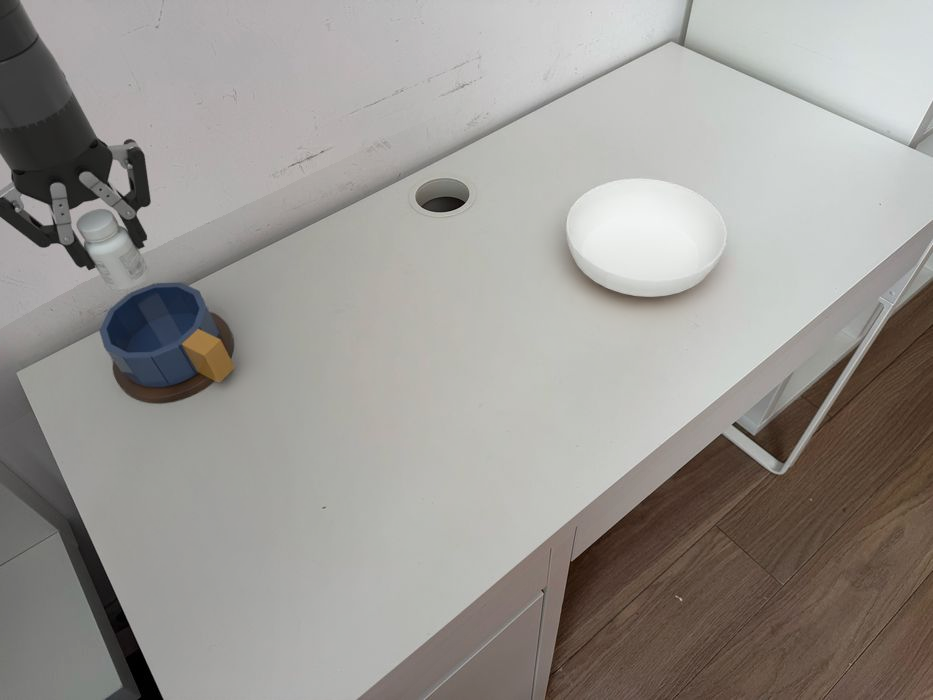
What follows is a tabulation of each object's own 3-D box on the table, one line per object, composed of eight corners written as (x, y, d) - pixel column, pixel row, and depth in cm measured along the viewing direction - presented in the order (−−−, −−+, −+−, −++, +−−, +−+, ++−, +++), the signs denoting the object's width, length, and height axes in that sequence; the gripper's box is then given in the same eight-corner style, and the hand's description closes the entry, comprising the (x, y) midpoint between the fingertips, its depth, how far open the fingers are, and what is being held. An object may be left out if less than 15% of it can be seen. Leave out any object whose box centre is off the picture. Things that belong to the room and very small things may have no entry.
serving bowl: (100, 364, 81) (78, 334, 77) (172, 301, 87) (155, 270, 83) (192, 414, 76) (173, 384, 72) (261, 343, 82) (248, 312, 78)
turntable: (138, 424, 77) (133, 418, 76) (102, 348, 85) (98, 342, 84) (252, 364, 82) (249, 358, 81) (209, 298, 90) (205, 291, 89)
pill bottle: (149, 258, 74) (117, 200, 68) (150, 285, 71) (117, 227, 65) (107, 269, 73) (71, 211, 67) (106, 296, 70) (69, 239, 65)
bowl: (740, 247, 90) (752, 209, 86) (675, 341, 81) (685, 304, 76) (608, 197, 98) (612, 161, 94) (535, 277, 89) (536, 241, 84)
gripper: (-64, 152, 52) (52, 307, 65) (121, 88, 57) (195, 244, 70) (-77, 111, 56) (34, 264, 69) (96, 54, 61) (170, 208, 74)
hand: (115, 253), depth 70 cm, fingers closed on pill bottle, 4 cm apart
